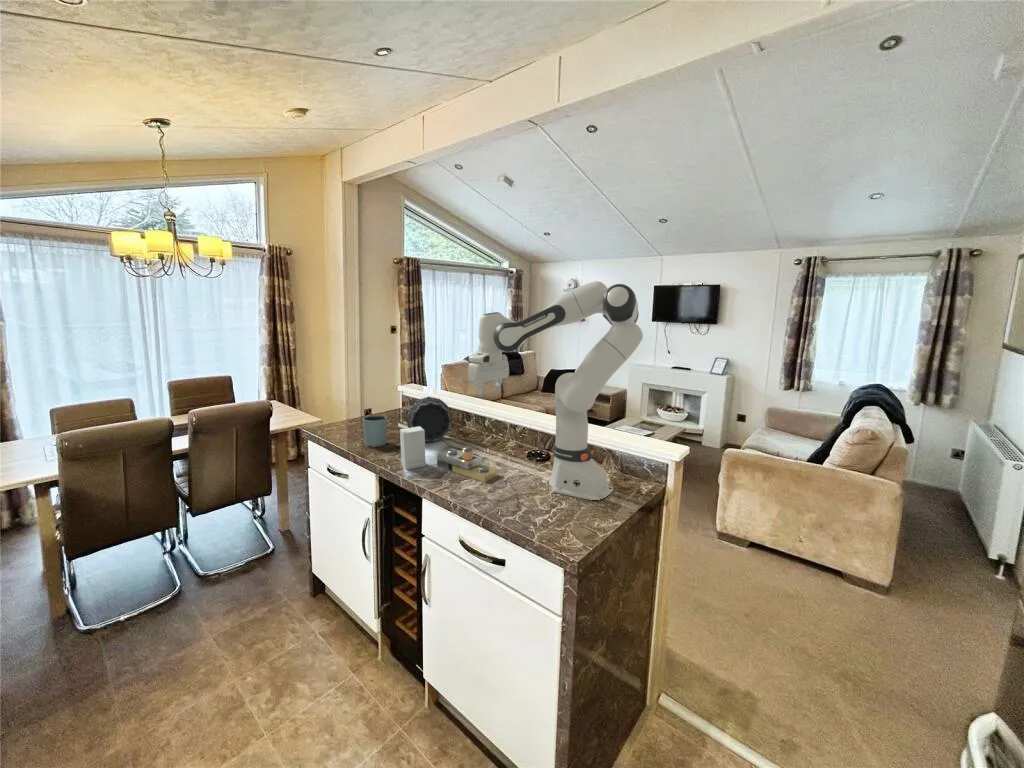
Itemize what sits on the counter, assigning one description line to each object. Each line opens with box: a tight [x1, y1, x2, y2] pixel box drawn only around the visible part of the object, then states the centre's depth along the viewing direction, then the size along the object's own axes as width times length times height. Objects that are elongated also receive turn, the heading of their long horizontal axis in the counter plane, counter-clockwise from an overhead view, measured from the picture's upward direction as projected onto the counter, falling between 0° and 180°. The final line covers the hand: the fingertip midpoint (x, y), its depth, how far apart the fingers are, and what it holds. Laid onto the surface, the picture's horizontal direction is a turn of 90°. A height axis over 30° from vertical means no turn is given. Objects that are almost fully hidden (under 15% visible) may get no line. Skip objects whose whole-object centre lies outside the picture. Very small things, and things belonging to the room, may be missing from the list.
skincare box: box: [399, 426, 427, 471], centre depth 168 cm, size 8×6×15 cm
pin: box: [461, 445, 474, 461], centre depth 165 cm, size 4×4×9 cm
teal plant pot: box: [362, 414, 388, 448], centre depth 193 cm, size 10×10×12 cm
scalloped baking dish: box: [406, 396, 453, 443], centre depth 199 cm, size 11×20×20 cm, turn 107°
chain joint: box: [436, 448, 500, 483], centre depth 165 cm, size 24×8×6 cm, turn 53°
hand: (489, 392), depth 167 cm, fingers open, 8 cm apart
